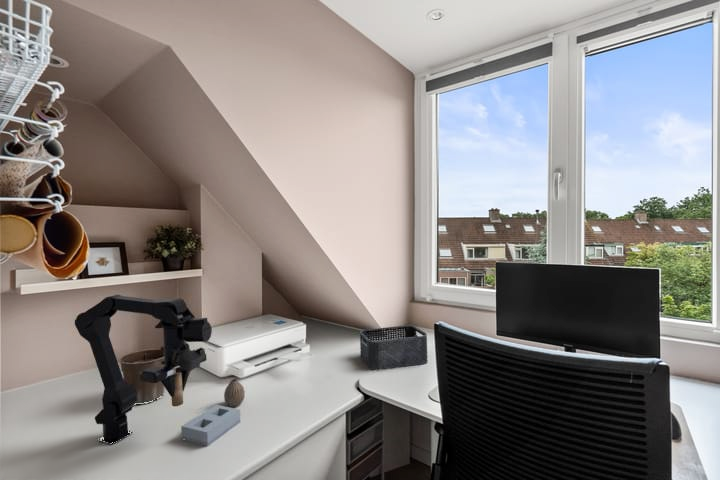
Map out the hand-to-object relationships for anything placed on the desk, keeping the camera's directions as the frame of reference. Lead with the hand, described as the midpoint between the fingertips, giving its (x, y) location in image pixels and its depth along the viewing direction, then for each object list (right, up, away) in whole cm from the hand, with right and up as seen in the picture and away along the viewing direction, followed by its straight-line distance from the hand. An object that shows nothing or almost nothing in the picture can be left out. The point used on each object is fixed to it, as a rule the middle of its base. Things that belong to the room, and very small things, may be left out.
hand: (177, 393), depth 108 cm
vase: (+10, -13, +21) cm, 27 cm away
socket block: (+9, -13, +5) cm, 16 cm away
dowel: (0, -3, 0) cm, 3 cm away
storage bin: (+70, -11, +63) cm, 95 cm away
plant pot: (-25, -14, +28) cm, 40 cm away
